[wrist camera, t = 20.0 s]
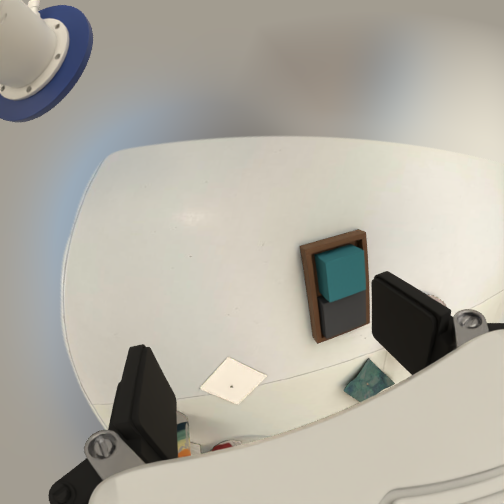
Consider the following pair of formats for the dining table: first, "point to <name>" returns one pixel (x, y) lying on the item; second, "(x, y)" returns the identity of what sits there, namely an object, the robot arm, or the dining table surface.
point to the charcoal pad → (341, 314)
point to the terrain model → (368, 382)
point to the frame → (311, 278)
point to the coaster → (233, 381)
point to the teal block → (341, 272)
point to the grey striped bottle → (183, 436)
